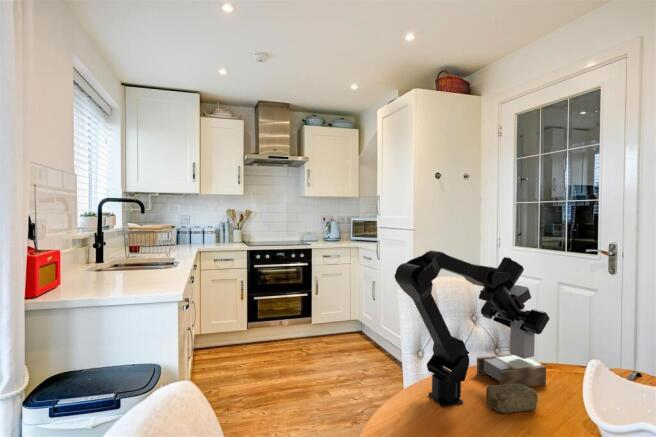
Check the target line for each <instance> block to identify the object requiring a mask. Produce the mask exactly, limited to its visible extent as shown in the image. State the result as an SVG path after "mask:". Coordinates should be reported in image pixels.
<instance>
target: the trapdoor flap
mask: <svg viewBox="0 0 656 437" xmlns="http://www.w3.org/2000/svg"><path fill="white" fill-rule="evenodd" d="M535 366H543V364H541V363H539V362H537V361H535V360H533V359H531V358H526V359H523V358H520V357H518V356H515V355H512V356H503V357H496V358H493V359H484V372H485V373H487V374H486V375H489V376H490V377H491V378H493V379H495V380H496V381H498V382H500V371H505V370H512V369H520V368H528V367H535Z"/></svg>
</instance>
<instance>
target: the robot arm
mask: <svg viewBox="0 0 656 437" xmlns="http://www.w3.org/2000/svg"><path fill="white" fill-rule="evenodd" d="M441 270H443V271H447V272H450V273H452V274H455V275H458V276H461V277H463V278H464V279H465V280H466V281H467V282H469V283H470V284H472V285H475V286H478V287H483V288H482V289H480V290H479V291H480V293H479V295H478V299H479V300H482V301H485V302H484V304H483V305H482V306H481V308H480V314H481V315H482V317H483V318H486V319H489V320H492V319H493V322H496V323H499V324H500V325H502V326H505V327H508V328H509V329H510V321H511V322H514V321H518V322H520V320H521V321H522V325H521V327H520V328H519V329H520V330H522V331H524V332H526V333H527V334H529V335H531V336H533V335H534V334H535V335H536V334H537V335H541V334H542V333H543V331H544V329H545V328H546V327H547V326H546V325H547V324H548V323H549V321H550V316H549V314H548V313H547V312H546V311H542V310H538V309H536V308H534V309H531V310H528V311H525V312H524V311H521V309H524V310H525V307H526V304H525V303H526V302H527V301H529V300H531V299H532V296H531V293H530V292H531V291H530V289H529V287H527V286H524V285H519V284H516V283H517V281H518V280H519V279H520V278H521V276H522V274H523V272H524V271H525V268H524V267H523V265H521V264H520V263H519V262H516V261H515V260H512V258H511V257H507V256H506V257H505V256H504V257H503V258H502V260H501V262H500V263H499V265H498V267H494V266H487V265H482V264H481V265H480V264H476V263H475V264H474V263H471V262H468V261H465V260H462V259H459V258H457V257H454V256H452V255H449V254H446V253H445V252H443V251H436V250H429V251H426V252H425V253H423V254H422V255H420V256H417V257H415V258H412V259H410V260H408V261H406V262H404V263H401V264H400V265H398V266H397V268H396V270H395V273H394V279H395V282H396V283H397V285H398V286H399V287H400V288H401V290H402V291H403V292H404V293H405V294H406V295H408V296H409V298H411V299H412V301H413V302H414V304H415V307H416V309H417V311H418V313H419V315H420V317H421V319H422V321H423V323H424V326H425V328H426V329H427V332H428V333H429V335H430V337H431V339H432V341H433V345H432V352H433V354H432V356H430V358H429V359H428V361H427V363H426V368H427V371H428V372H430V373H432V374H431V375H432V376H431V380H432V381H431V392H428V396H429V397H430V398H431V399H433V400H434V401H435V403H436V404H438V405H439V406H440V407H443V408H445V407H450V406H456V405H463V404H464V401H463V399H461V397H462V396H461V395H462V390H461V389H462V382H465V381H466V376H467V373H468V369H469V366H470V356H469V354H470V351H468V350H467V347H466V344H465V342H464V341H463V339H462V340H461V339H459V338H457V337H455V336H452V334H451V332H450V330H449V328H448V325H447V324H446V323H447V322H446V321H445V320H444V317H443V314H442V313H441V311H440V309H439V307H438V304H437V302H436V300H435V298H434V296H433V294H432V292H433V286H434V285H433V284H434V283H433V281H434V280H435V279H436V278H437V277H439V274H440V271H441Z"/></svg>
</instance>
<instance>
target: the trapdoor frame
mask: <svg viewBox="0 0 656 437" xmlns="http://www.w3.org/2000/svg"><path fill="white" fill-rule="evenodd" d="M512 355H513V354H510V353H505V354H495V355H488V356H479V357H476V374H477V375H478V376H484V375H488V374H487V373H485V372H484V359H493V358H496V357H503V356H512ZM516 383H519V384H525V385H526V386H528V387H529V388H531V387H536V386H543V385H546V384H547V366H545V365H542V366H535V367H528V368H520V369H512V370H505V371H500V381H499V385H503V384H516Z"/></svg>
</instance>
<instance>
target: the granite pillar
mask: <svg viewBox="0 0 656 437" xmlns="http://www.w3.org/2000/svg"><path fill="white" fill-rule="evenodd" d="M521 311H524V312H525V311H529V310H528V309H525V308H524V309H521ZM521 325H522V321H521V320H520V322H518V321H514V322H511V321H510V328H509V329H510V330H509V332H510V333H509V334H510V335H509V354H513V355H515V356H518V357H520V358H523V359H526V358H529V359H531V358H533V357H535V342H536V341H535V339H536V338H535V337H536V334H534V335H533V336H531V335H529V334H527V333H526V332H524V331H522V330H520V329H519V328H520V327H521Z"/></svg>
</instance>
